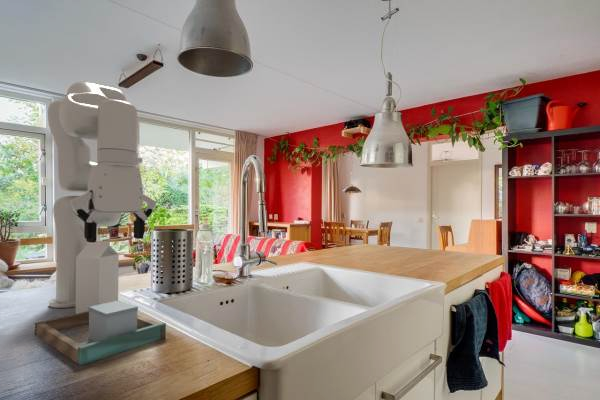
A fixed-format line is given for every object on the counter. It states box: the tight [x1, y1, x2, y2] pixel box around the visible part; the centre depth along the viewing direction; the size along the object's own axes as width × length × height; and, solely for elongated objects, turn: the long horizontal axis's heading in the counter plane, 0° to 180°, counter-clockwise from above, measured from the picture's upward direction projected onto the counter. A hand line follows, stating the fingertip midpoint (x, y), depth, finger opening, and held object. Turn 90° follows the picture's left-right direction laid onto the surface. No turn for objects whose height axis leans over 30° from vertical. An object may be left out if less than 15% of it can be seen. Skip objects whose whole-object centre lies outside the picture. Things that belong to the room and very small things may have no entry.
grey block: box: [87, 299, 139, 343], centre depth 71 cm, size 8×6×7 cm
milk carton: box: [75, 240, 120, 314], centre depth 93 cm, size 7×7×19 cm
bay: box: [34, 311, 167, 366], centre depth 75 cm, size 25×16×3 cm, turn 53°
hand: (116, 240), depth 73 cm, fingers open, 9 cm apart
